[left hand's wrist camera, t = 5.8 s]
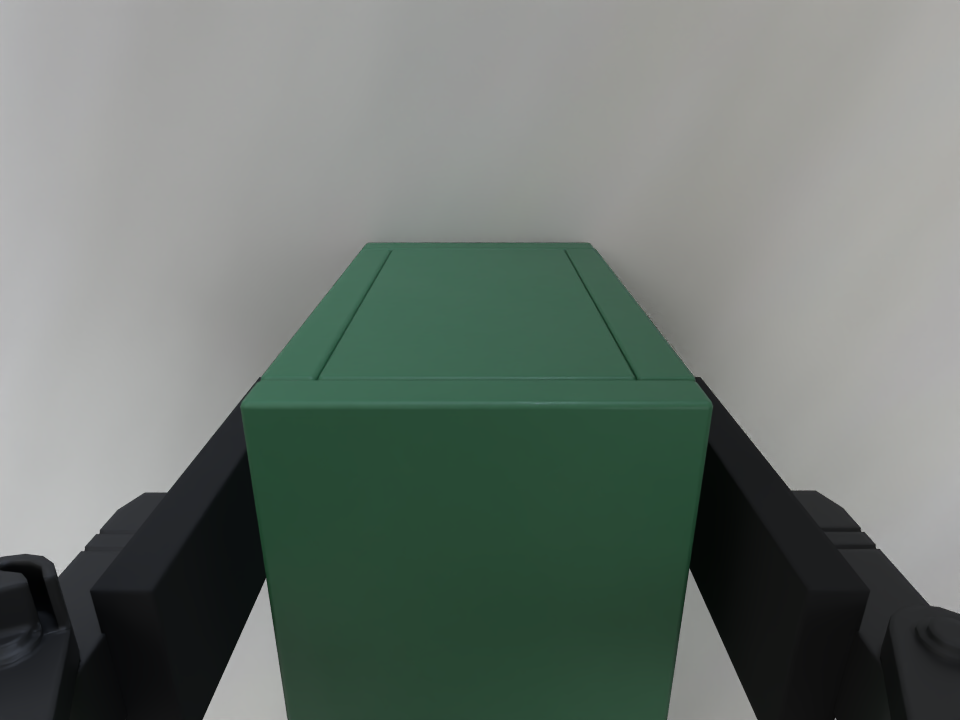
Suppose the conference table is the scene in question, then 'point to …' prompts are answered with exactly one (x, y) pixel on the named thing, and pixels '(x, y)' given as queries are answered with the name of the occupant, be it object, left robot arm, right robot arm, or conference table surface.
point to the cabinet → (477, 490)
